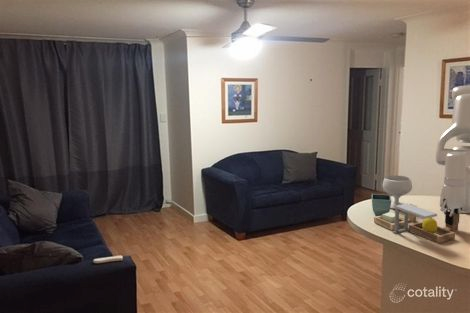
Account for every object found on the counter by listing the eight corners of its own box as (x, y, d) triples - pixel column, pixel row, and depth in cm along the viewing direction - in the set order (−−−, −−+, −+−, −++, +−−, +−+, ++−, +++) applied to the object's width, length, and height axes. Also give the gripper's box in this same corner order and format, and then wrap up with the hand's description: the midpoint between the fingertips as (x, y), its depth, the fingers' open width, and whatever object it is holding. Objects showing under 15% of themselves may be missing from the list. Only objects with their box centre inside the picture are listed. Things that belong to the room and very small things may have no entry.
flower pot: (391, 218, 180) (391, 200, 179) (371, 217, 183) (371, 199, 182) (390, 212, 189) (390, 194, 187) (371, 211, 191) (371, 193, 190)
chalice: (402, 201, 204) (403, 174, 201) (416, 209, 190) (418, 180, 187) (377, 203, 203) (377, 175, 200) (389, 211, 189) (390, 182, 187)
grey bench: (430, 223, 171) (431, 198, 169) (461, 235, 158) (463, 207, 155) (392, 233, 163) (393, 206, 161) (421, 245, 150) (422, 216, 147)
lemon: (432, 232, 162) (433, 214, 160) (439, 237, 156) (440, 219, 155) (419, 233, 162) (420, 215, 160) (426, 238, 156) (426, 219, 155)
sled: (403, 215, 182) (404, 201, 181) (422, 223, 172) (423, 208, 171) (374, 222, 176) (374, 207, 174) (391, 230, 166) (392, 215, 164)
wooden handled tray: (439, 223, 171) (439, 208, 170) (470, 234, 157) (471, 218, 156) (408, 230, 165) (409, 215, 163) (438, 243, 151) (439, 226, 150)
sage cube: (389, 222, 176) (389, 212, 175) (398, 225, 171) (399, 214, 171) (382, 224, 173) (382, 214, 172) (391, 228, 169) (392, 217, 168)
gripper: (460, 177, 166) (457, 217, 170) (432, 182, 160) (430, 224, 164) (476, 181, 159) (473, 222, 163) (448, 186, 153) (445, 229, 157)
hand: (451, 223), depth 163 cm, fingers closed on wooden handled tray, 3 cm apart
